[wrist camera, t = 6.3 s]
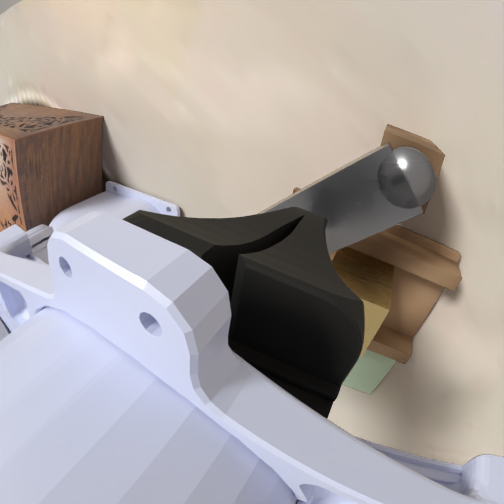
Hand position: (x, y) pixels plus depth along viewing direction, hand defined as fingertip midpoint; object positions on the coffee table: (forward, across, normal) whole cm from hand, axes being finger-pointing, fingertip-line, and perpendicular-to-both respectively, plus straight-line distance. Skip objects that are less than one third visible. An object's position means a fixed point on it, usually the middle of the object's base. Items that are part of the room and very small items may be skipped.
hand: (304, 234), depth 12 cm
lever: (+3, +1, +1) cm, 3 cm away
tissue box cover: (+9, +36, +6) cm, 37 cm away
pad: (+9, -6, +14) cm, 17 cm away
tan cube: (+8, -3, +6) cm, 11 cm away
